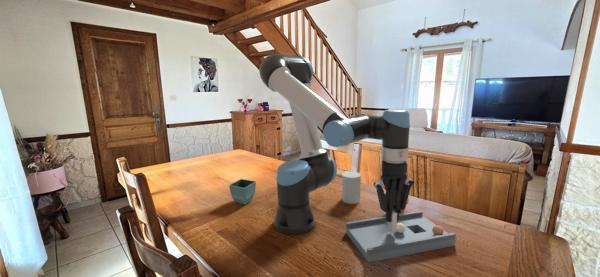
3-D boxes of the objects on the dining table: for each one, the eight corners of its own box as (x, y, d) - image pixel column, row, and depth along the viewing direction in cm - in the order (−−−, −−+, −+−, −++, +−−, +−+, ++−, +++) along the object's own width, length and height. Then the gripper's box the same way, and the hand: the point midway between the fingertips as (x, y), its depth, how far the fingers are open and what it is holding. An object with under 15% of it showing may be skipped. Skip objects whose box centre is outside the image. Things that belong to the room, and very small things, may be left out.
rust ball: (436, 238, 80) (437, 229, 79) (429, 233, 83) (430, 224, 82) (445, 237, 81) (446, 228, 80) (437, 231, 84) (438, 222, 83)
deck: (368, 262, 74) (368, 250, 73) (345, 232, 89) (345, 222, 88) (454, 245, 80) (455, 234, 80) (420, 220, 96) (420, 210, 95)
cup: (360, 204, 110) (361, 178, 108) (341, 203, 112) (341, 177, 109) (360, 196, 118) (360, 171, 116) (342, 195, 120) (342, 171, 117)
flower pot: (257, 199, 118) (256, 181, 116) (246, 207, 110) (244, 188, 108) (242, 196, 121) (240, 178, 120) (230, 204, 114) (228, 185, 112)
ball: (409, 230, 83) (401, 236, 82) (403, 225, 86) (396, 231, 86) (403, 223, 82) (396, 230, 82) (398, 219, 85) (391, 225, 85)
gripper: (381, 165, 74) (379, 239, 78) (421, 161, 76) (416, 233, 81) (369, 158, 81) (368, 226, 85) (405, 155, 83) (402, 221, 88)
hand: (391, 229), depth 83 cm, fingers closed
